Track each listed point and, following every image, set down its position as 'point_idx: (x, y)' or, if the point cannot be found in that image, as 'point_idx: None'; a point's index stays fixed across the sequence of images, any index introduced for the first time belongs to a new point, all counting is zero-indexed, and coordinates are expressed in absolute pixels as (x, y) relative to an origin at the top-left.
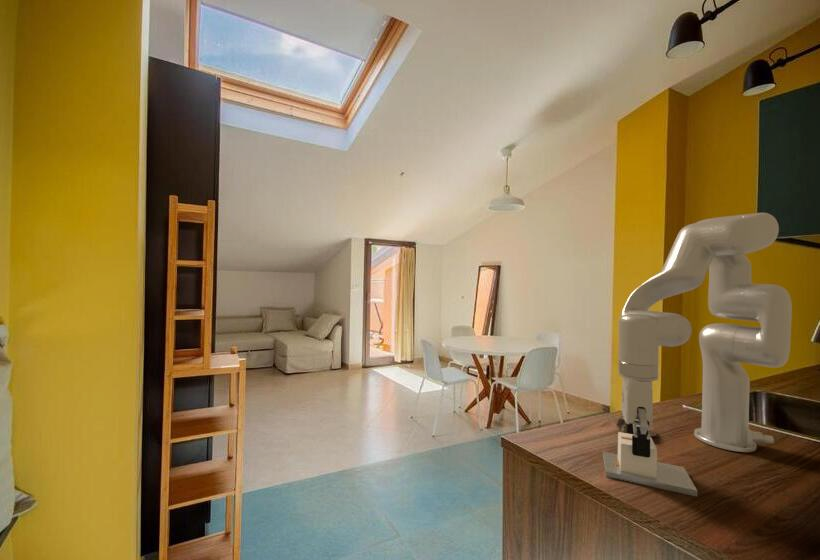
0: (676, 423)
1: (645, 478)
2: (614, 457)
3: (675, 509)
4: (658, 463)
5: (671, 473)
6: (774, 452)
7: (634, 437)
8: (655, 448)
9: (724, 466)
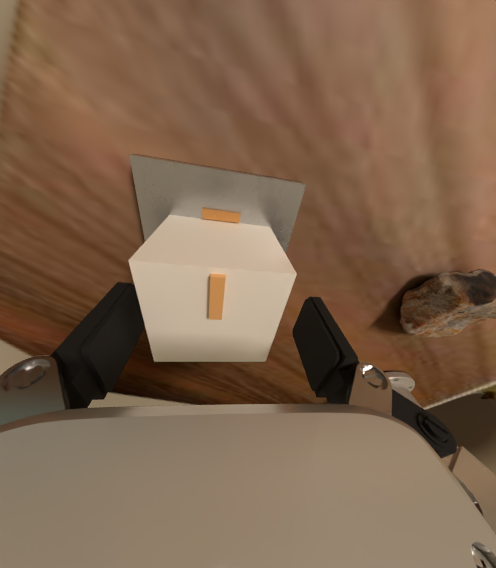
0: (450, 361)
1: None
2: (265, 216)
3: (78, 294)
4: None
5: None
6: None
7: (28, 358)
8: (165, 359)
9: (295, 376)
